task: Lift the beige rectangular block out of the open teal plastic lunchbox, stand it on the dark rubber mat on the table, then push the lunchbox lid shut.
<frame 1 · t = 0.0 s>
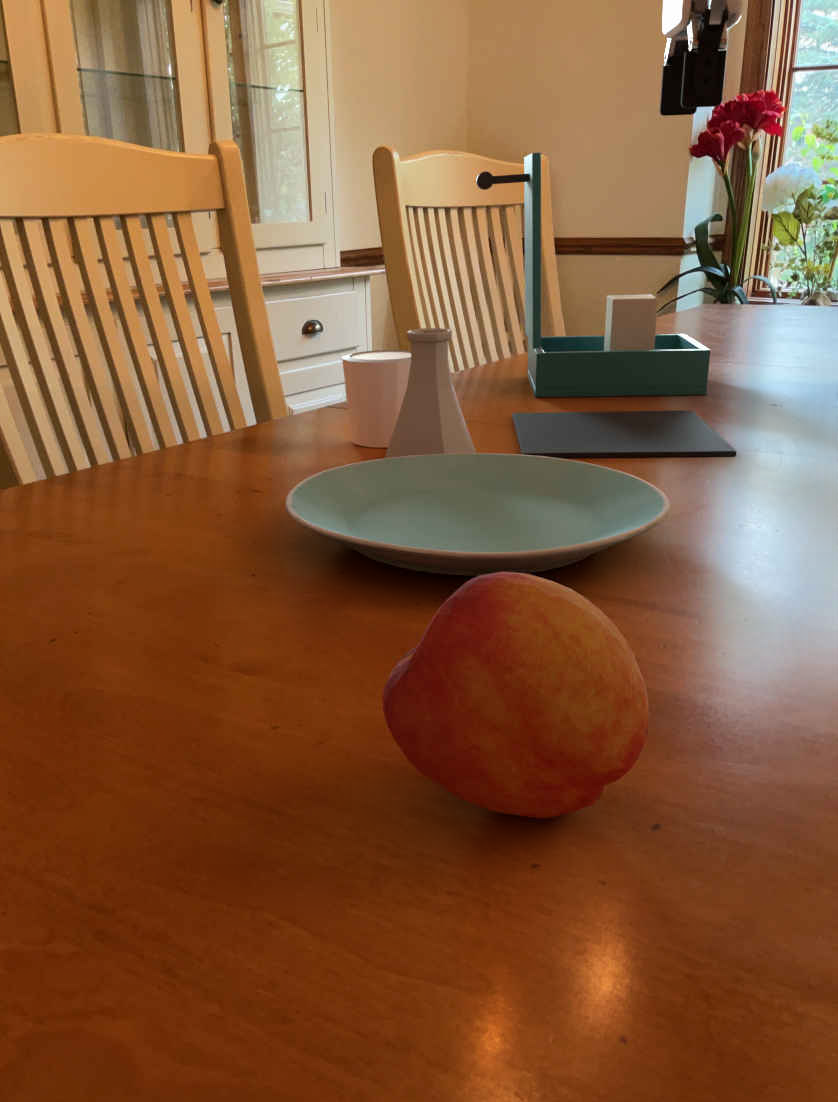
hand: (688, 110, 90), 25 cm above the table, tool pointing down, fingers open, 9 cm apart
lunchbox lid: (507, 252, 104), point 13 cm above the table, hinge at 92.0°
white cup: (385, 442, 88), on the table
fruit: (515, 801, 36), on the table
plate: (473, 540, 62), on the table
beige rectangular block: (626, 377, 108), point 1 cm above the table, touching lunchbox
mat: (613, 434, 87), on the table
flask: (430, 471, 78), on the table
lunchbox: (611, 385, 109), on the table
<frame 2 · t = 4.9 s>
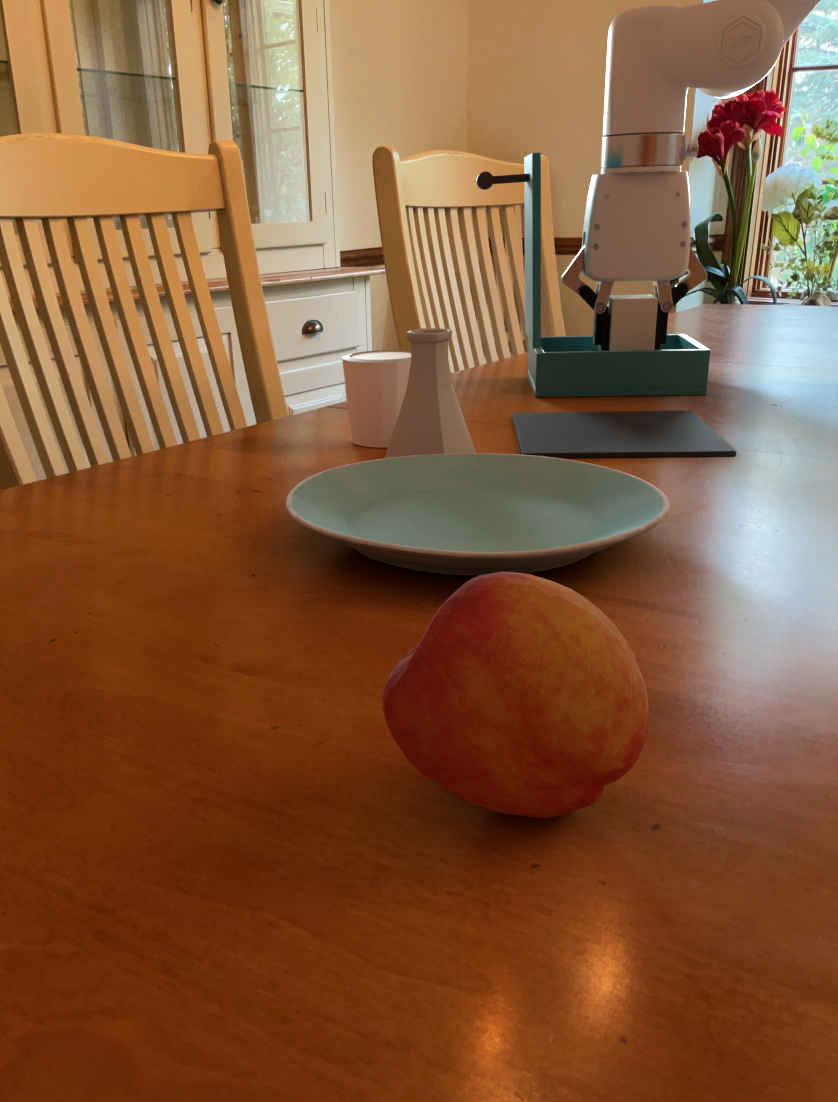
hand: (628, 350, 107), 4 cm above the table, tool pointing down, fingers closed on beige rectangular block, 4 cm apart
beige rectangular block: (626, 377, 108), point 1 cm above the table, touching gripper, lunchbox
everything else where it was.
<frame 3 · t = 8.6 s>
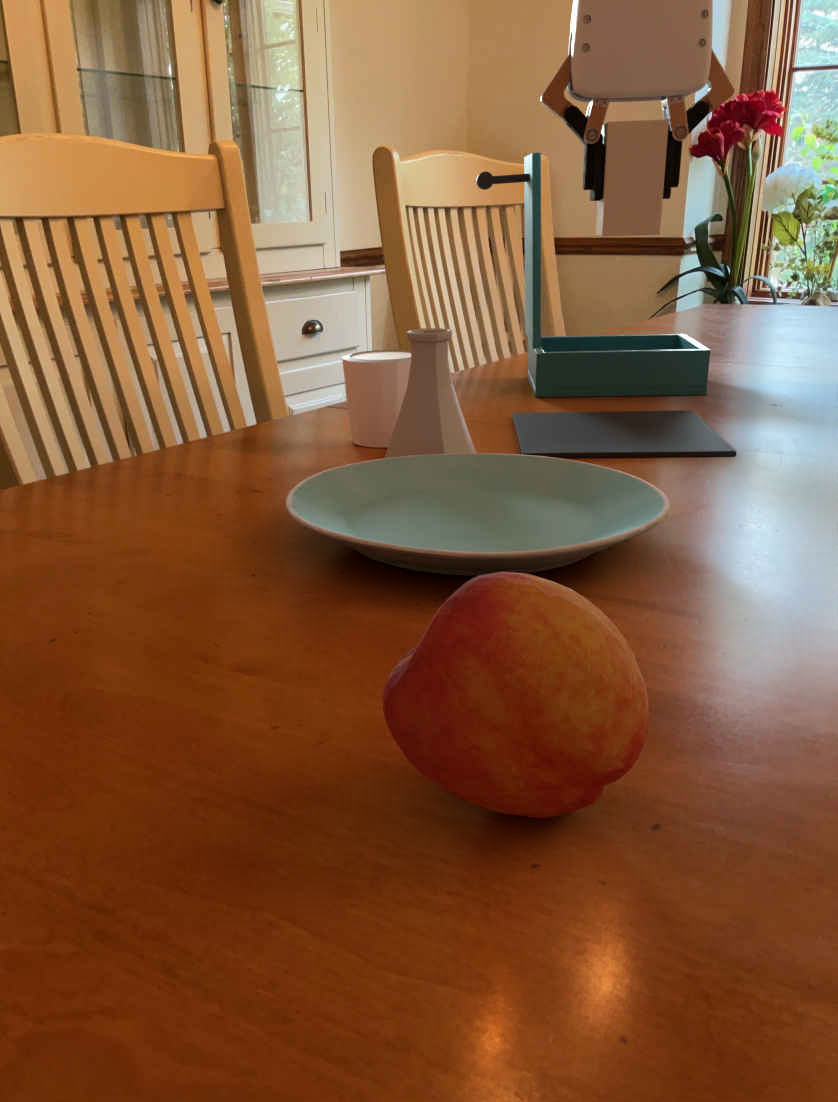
hand: (629, 196, 81), 18 cm above the table, tool pointing down, fingers closed on beige rectangular block, 4 cm apart
beige rectangular block: (626, 234, 83), point 16 cm above the table, touching gripper
everything else where it was.
when the fingers open (3 cm above the table, at t = 12.3 s): beige rectangular block stays where it is, resting on mat.
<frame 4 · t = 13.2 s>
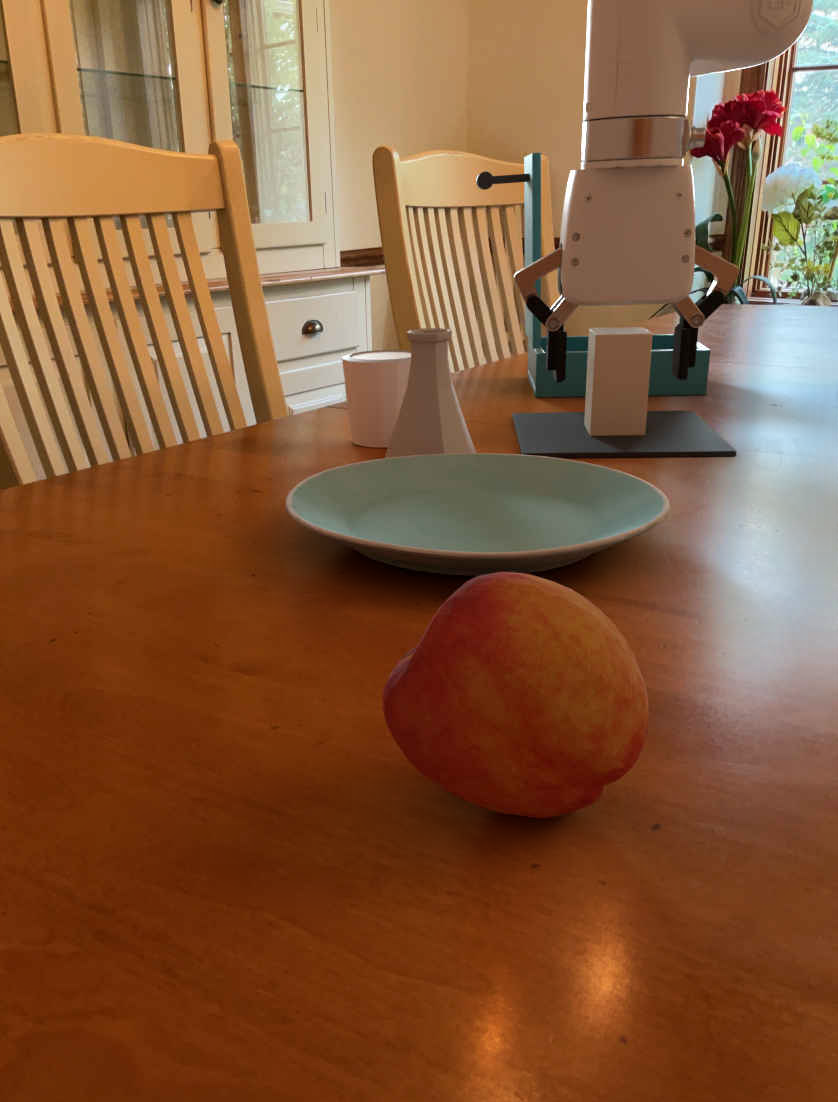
hand: (618, 378, 85), 5 cm above the table, tool pointing down, fingers open, 9 cm apart
beige rectangular block: (613, 430, 87), resting on mat
everything else where it was.
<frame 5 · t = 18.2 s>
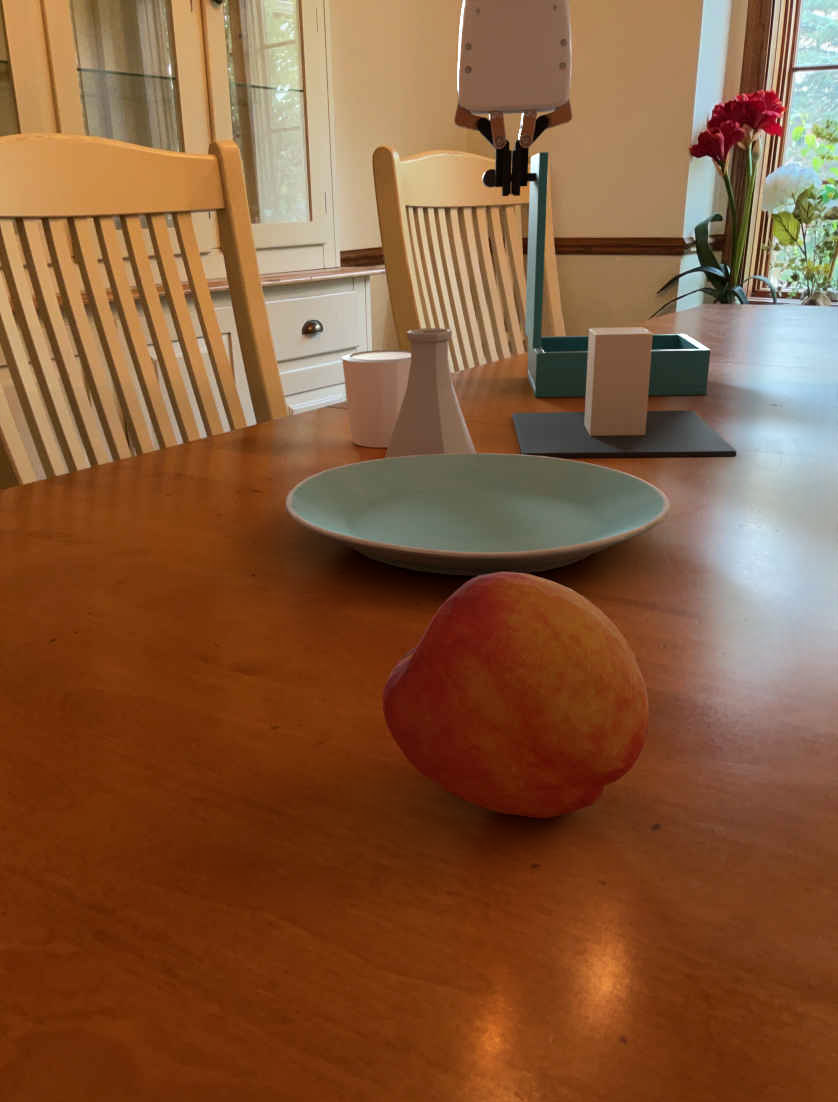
hand: (510, 195, 98), 19 cm above the table, tool pointing down, fingers closed
lunchbox lid: (510, 250, 104), point 13 cm above the table, hinge at 89.7°, touching gripper
everything else where it was.
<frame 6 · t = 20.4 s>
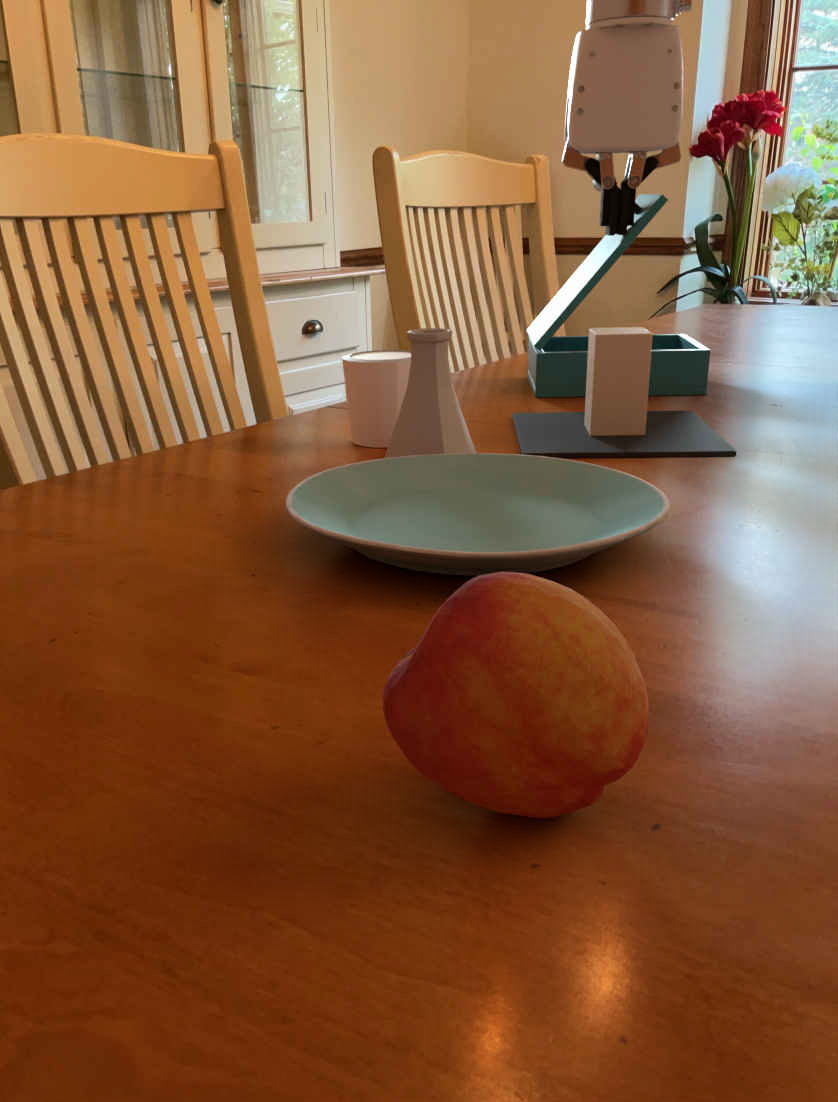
hand: (615, 234, 99), 15 cm above the table, tool pointing down, fingers closed
lunchbox lid: (572, 253, 104), point 13 cm above the table, hinge at 49.8°, touching gripper
everything else where it was.
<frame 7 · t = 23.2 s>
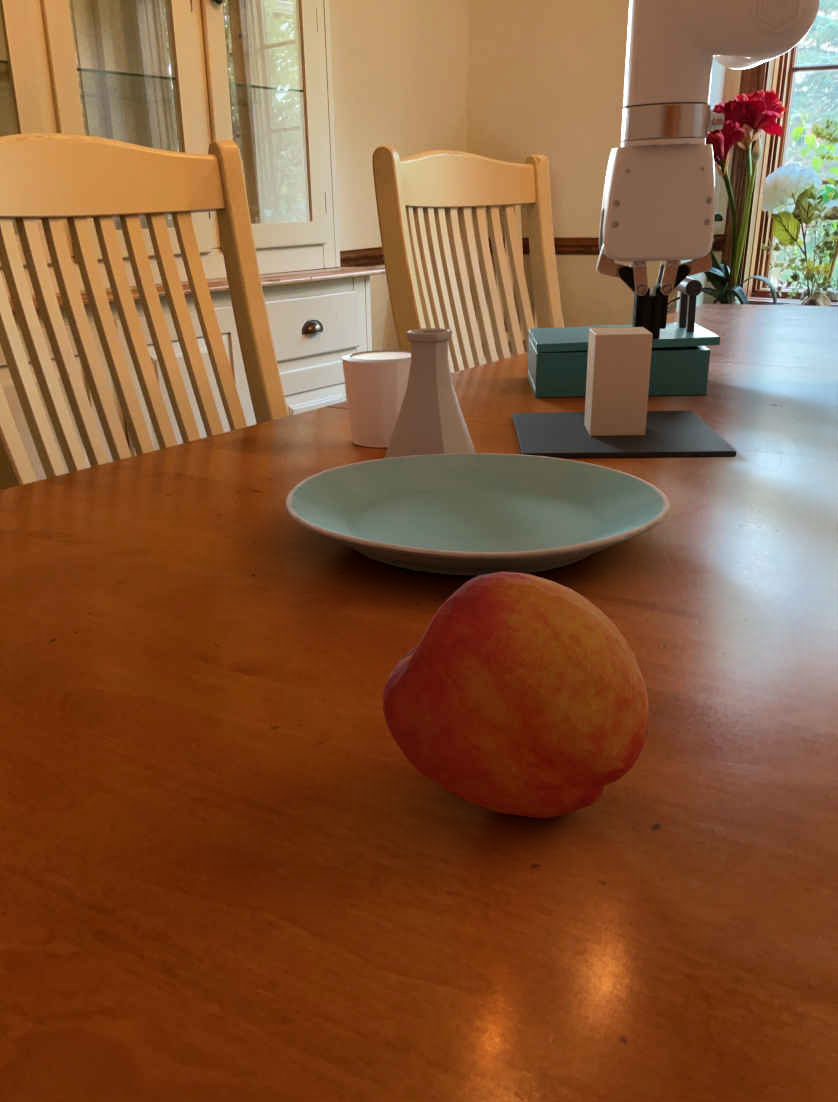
hand: (648, 336, 102), 5 cm above the table, tool pointing down, fingers closed
lunchbox lid: (619, 311, 106), point 7 cm above the table, hinge at 1.2°, touching gripper
everything else where it was.
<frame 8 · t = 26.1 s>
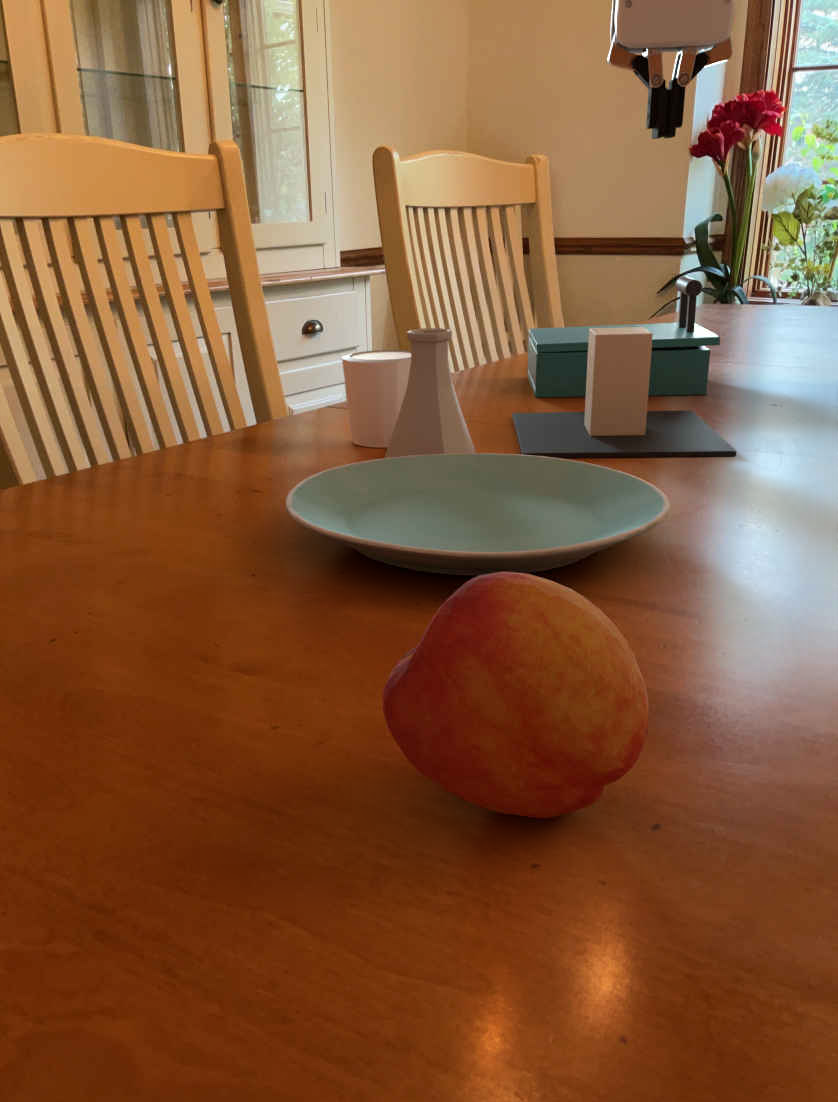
hand: (663, 137, 95), 23 cm above the table, tool pointing down, fingers closed
lunchbox lid: (619, 311, 106), point 7 cm above the table, hinge at 1.2°
everything else where it was.
at the end: beige rectangular block inside the target area on the mat (0.0 cm from its centre), point 0.4 cm above the mat's base; beige rectangular block tilted 0°; lunchbox lid at +1° (first picture: +92°) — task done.
